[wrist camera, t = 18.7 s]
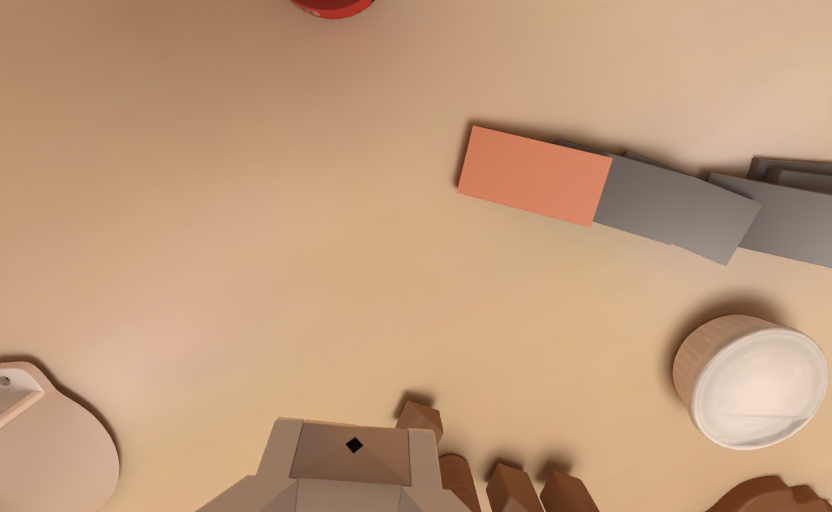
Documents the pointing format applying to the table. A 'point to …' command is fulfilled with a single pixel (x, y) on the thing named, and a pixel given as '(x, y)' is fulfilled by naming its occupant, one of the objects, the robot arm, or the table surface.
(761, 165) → the tile
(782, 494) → the plant
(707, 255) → the tile
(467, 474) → the wooden block set
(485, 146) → the tile
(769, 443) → the ramekin
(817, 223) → the tile
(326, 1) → the canned food
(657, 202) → the tile
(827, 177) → the tile
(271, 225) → the table surface
